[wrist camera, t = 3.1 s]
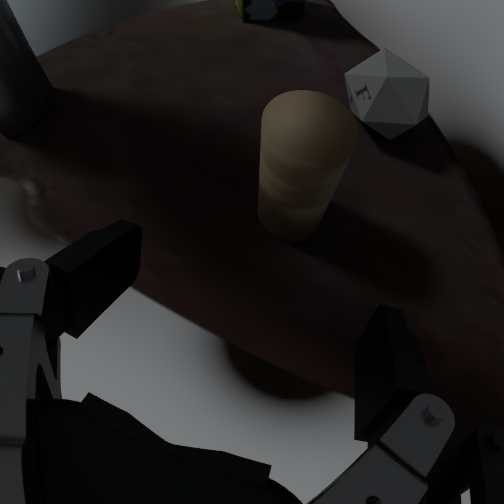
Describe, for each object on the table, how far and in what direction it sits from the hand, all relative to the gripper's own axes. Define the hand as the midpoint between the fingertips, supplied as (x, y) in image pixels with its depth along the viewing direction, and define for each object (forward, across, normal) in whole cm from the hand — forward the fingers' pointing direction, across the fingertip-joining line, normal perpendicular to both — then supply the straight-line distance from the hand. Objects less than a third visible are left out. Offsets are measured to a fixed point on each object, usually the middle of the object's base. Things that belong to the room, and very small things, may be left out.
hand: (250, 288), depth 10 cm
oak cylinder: (+17, 0, +3) cm, 17 cm away
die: (+27, -6, -7) cm, 28 cm away
